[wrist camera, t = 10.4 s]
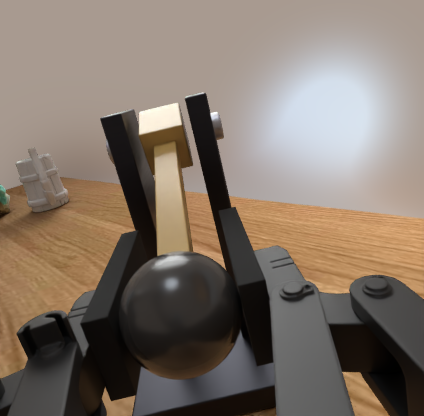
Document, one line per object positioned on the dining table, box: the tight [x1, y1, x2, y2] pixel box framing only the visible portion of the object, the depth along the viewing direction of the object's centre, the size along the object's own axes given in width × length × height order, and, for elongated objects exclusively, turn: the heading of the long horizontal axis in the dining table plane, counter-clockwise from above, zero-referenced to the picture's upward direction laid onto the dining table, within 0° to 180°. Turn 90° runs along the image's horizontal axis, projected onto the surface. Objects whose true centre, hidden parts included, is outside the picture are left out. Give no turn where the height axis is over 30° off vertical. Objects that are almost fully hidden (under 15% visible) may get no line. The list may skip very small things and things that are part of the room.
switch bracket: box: [100, 93, 276, 416], centre depth 21 cm, size 12×9×15 cm
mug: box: [16, 148, 69, 212], centre depth 70 cm, size 8×12×12 cm, turn 31°
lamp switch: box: [118, 103, 243, 380], centre depth 15 cm, size 14×4×4 cm, turn 4°
